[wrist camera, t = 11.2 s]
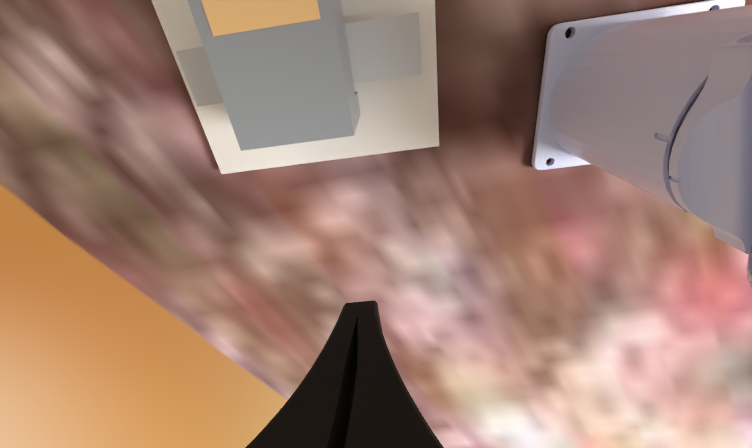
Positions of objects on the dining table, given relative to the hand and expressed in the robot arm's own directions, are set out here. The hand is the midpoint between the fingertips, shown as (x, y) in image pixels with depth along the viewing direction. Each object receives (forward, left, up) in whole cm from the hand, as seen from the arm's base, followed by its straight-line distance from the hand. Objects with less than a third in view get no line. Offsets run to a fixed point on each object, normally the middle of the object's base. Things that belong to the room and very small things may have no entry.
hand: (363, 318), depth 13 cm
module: (+2, -11, -9) cm, 14 cm away
